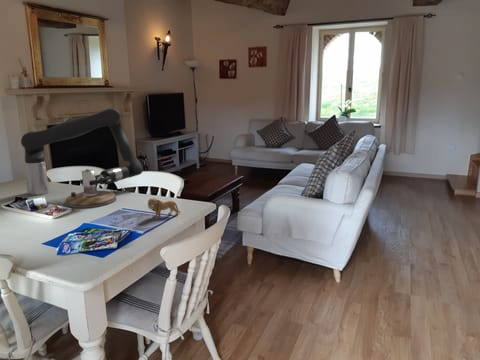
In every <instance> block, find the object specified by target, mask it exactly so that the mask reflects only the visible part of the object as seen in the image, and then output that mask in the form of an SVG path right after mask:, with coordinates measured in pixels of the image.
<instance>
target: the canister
mask: <svg viewBox="0 0 480 360" xmlns="http://www.w3.org/2000/svg"><path fill="white" fill-rule="evenodd" d="M95 175H96V171H95V169H90V168H87V169H85V170H81V177H82V179H83V184H82V186H83V187H82V188H83V192H84V193H83V195H84V196H94V195H97V194H98V192H97V191H98V190H97V184H95V185H92V186H91V185H90V184H89V182H90V181H92V180H96V179H95Z"/></svg>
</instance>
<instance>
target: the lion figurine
mask: <svg viewBox="0 0 480 360" xmlns="http://www.w3.org/2000/svg"><path fill="white" fill-rule="evenodd" d="M147 207H148V209H149V210H151V211H152V212H155V215H154V217H157V219H160V218H161V216H162V215H161V212H162V211H166V210H168V209H169V210H170V212H168V215H172V213H173V212H175V216H179V213H181V211H180V210H179V208H178V205H177V203H176V201H174V200H168V201H161V200H159V199H156V198H155V197H154V198H149V199H148V200H147Z"/></svg>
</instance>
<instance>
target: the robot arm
mask: <svg viewBox="0 0 480 360" xmlns="http://www.w3.org/2000/svg"><path fill="white" fill-rule="evenodd" d="M121 117H122V116H121V113H120V111H119V110H118V109H115V108H107V109H104V110H103V111H100V112H97V113H95V114H91V115H87V116H82V117H77V118H73V119H70V120H66V121H63V122H60V123H57V124H55V125H54V126H52V127H49V128H47V129H43V130H38V131H34V130H30V131H27V132H26V133H24V134H23V135H22V137H21V140H20V144H21V146H22V147H23V148H24V163H25V169H26V176H25V183H26V190H27V194H28V195H32V196H39V195H44V194H48V193H49V192H50V190H49V183H48V174H47V167H46V160H45V159H46V158H45V156H46V155H45V154H46V153H45V146H47V145H49V144H52V143H56V142H61V141H66V140H69V139H74V138H77V137H81V136H83V135H85V134H88V133H90V132H92V131H94V130H95V129H99V128H102V127H103V128H104V127H108V128H109V130H110V131H111V134H112V136H113V138H114V140H115V141H114V142H115V144H116V147H117V149H118V152H119V154H120V157H121V159H122V161H124V162H128V163H129V164H128V165H125V166H118V167H113V168H109V169H104V170H101V172H100V173H99V174H95V179H96V180H92V181H90V182H89V184H90V185H91V186H92V185H95V184H96V185H101V186H102V185H110V184H113V183H117V182H118V181H122V180H126V179H129V178H133V177H136V176H139V175H141V174H142V173H143V171H144V169H143V165H142V163H141V161H139V159H138V158H137V156H136V155H135V153H134V150H133V148H132V146H131V144H130V141H129V140H128V137H127V136H126V134H125V131H124V127H123V125H122V120H121ZM79 182H80V184H81V185H83V179H81V178H80V181H79Z"/></svg>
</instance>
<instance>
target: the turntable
mask: <svg viewBox="0 0 480 360" xmlns="http://www.w3.org/2000/svg"><path fill="white" fill-rule="evenodd" d="M97 192H98V194H97V195H94V196H84V195H83V193H84V191H83V192H78V193H77V192H76V191H72V192H70V195H69V196H67V197H66V199H65V201H66V203H67V204H70V205H75V206H89V205H97V204H102V203H106V202H109V201H111V200H113V199H114V198H115V196H116V194H115V193H114V192H113V191H109V190H108V191H107V190H97Z"/></svg>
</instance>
